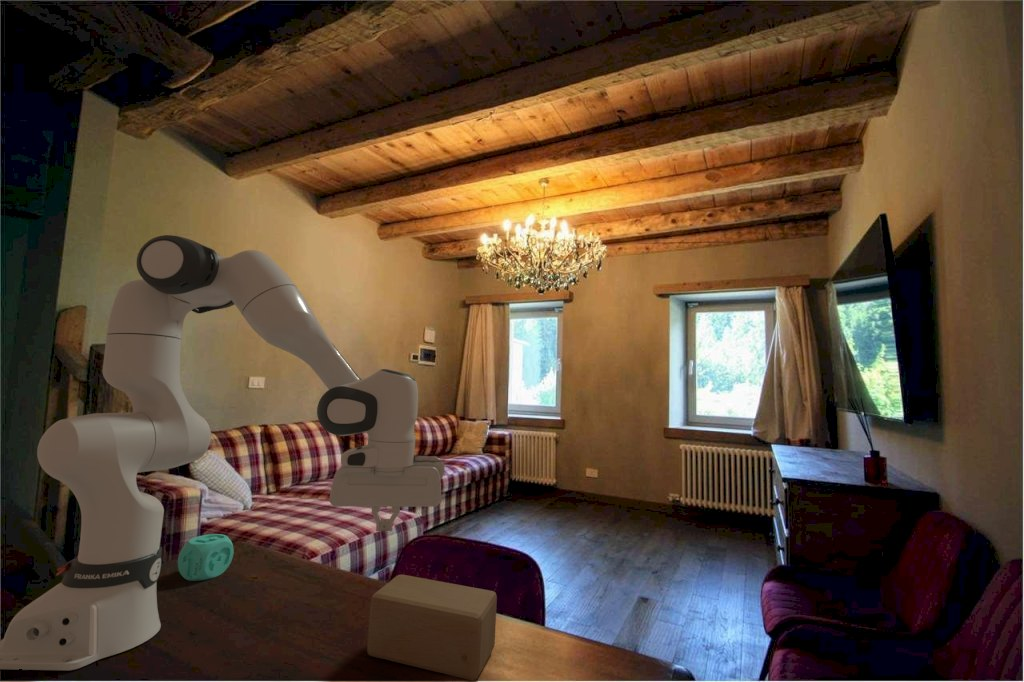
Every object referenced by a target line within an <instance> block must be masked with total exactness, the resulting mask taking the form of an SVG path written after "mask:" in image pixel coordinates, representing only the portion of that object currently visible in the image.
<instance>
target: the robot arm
mask: <svg viewBox="0 0 1024 682" xmlns="http://www.w3.org/2000/svg"><path fill="white" fill-rule="evenodd" d="M137 253H138V254H137V256H136V270H137V272H138V274H139V275H140V277H141V278H142V279H134V280H131V281H128V282H126V283H124V284H123V285H121V286H120V288H119V289H118V291H117V294H116V296H115V298H114V300H113V305H112V307H111V311H110V314H109V319H108V323H107V329H106V339H105V347H104V354H103V355H104V356H103V364H102V376H103V378H104V380H105V381H106V382H107V384H108V385H110V386H111V387H112V388H115V389H116V390H119V391H120V392H122V393H124V394H126V396H127V397H128V398H129V400H130V403H131V406H132V412H103V413H101V412H99V413H98V412H95V413H89V414H84V415H78V416H73V417H67V418H63V419H59V420H58V421H56V422H54V423H53V424H52V425H51V426H50V427H49V428H47V430H46V431H45V432H44V433H43V435H42V436H41V438H40V440H39V442H38V445H37V450H36V451H37V452H36V453H37V454H36V455H37V460H38V463H39V465H40V467H41V469H42V470H43V471H44V472H45V473H46V474H47V475H48V476H50V477H52V478H53V479H55V480H57V481H59V482H60V483H62V484H64V485H65V486H66V487H67V488H68V489H69V490H70V491H71V492H72V493H73V495H74V496H75V499H76V501H77V503H78V506H79V509H80V515H81V517H80V518H81V524H80V539H79V540H80V541H79V546H78V547H79V548H78V555H77V556H76V557H75V558H73V559H71V560H70V561H68V562H66V563H65V564H64V565H63V566H61V567H59V568H57V569H56V571H58V572H57V573H56V575H55V576H60V575H62V574H64V575H63V578H62V580H61V582H59V583H58V584H56V585H55V586H54V587H52V588H50V589H49V590H47V591H46V592H45V593H43V594H42V595H40V596H39V597H37V598H36V599H34V600H32V601H31V602H30V603H29V604H27V605H26V606H24V607H23V608H21V609H20V610H19V611H18V612H17V613H16V614H15V615H14V617H13V618H12V619H11V621H10V622H9V624H8V626H7V629H6V632H5V634H4V637H3V638H2V639H1V640H0V670H19V669H22V670H21V671H30V670H32V671H74V670H78V669H81V668H83V667H86V666H88V665H90V664H92V663H94V662H96V661H99V660H101V659H104V658H107V657H108V658H109V657H111V656H114V655H117V654H120V653H123V652H126V651H129V650H131V649H134V648H135V647H138V646H140V645H142V644H144V643H145V642H147V641H149V640H150V639H152V638H153V637H154V636H155V635H157V633H158V632H159V631H160V630H161V626H162V623H161V620H160V615H159V610H158V599H157V598H158V596H157V595H158V594H157V592H158V591H157V586H158V585H157V582H158V580H159V576H160V573H161V568H162V567H161V566H162V552H163V547H162V546H161V538H162V529H163V522H164V513H165V508H164V505H163V504H162V502H161V501H160V499H158V498H157V497H155V496H154V495H151V494H149V493H146V492H144V491H140V490H139V487H138V484H137V474H138V473H145V472H151V471H152V472H153V471H161V470H167V469H168V470H169V469H174V468H177V467H180V466H184V465H187V464H189V463H192V462H195V461H197V460H199V459H201V458H202V457H204V455H205V454H206V452H207V451H208V449H209V446H210V444H211V442H212V441H211V440H212V431H211V427H210V425H209V423H208V422H207V420H206V418H204V416H201V414H199V413H198V412H196V410H195V409H194V408H193V407H192V406H191V405H190V403H189V401H188V399H187V397H186V395H185V392H184V390H183V386H182V382H181V355H182V353H181V352H182V342H183V327H184V320H185V318H186V316H187V315H188V314H189V313H190V312H191V311H192V312H194V313H195V314H205V313H207V312H211V311H215V310H222V309H227V308H230V307H232V306H236V308H237V310H238V311H239V313H240V314H241V316H242V317H243V318H244V319H245V321H246V322H247V324H248V325H249V326H250V328H252V330H253V331H254V332H255V333H256V334H257V335H258V336H259V337H260V338H262V339H263V340H264V341H265V342H266V343H267V344H269V345H270V346H273V347H276V348H278V349H279V350H283V351H285V352H287V353H289V354H291V355H293V356H295V357H297V359H298V358H299V359H300V360H302V361H303V362H304V363H306V364H307V365H308V366H309V367H310V368H311V369H312V370H313V371H314V373H315V374H316V376H318V378H319V379H320V380H321V382H322V383H323V384H324V385H325V387H326V388H327V389H328V390H326V391H325V392H324V393H323V394H322V396H321V398H320V399H319V401H318V404H317V407H316V417H317V420H318V422H319V424H320V426H321V427H322V428H323V429H324V430H325V431H326V432H327V433H330V434H333V435H336V436H340V437H346V436H348V437H349V436H352V435H357V434H361V433H362V434H365V433H366V434H367V437H368V438H367V444H366V445H362V446H358V447H354V448H351V449H348V450H346V451H344V452H343V453H342V455H341V456H340V464H341V465H340V467H338V469H337V471H336V472H335V473H334V476H333V480H332V484H331V487H330V493H329V503H330V505H331V506H332V507H335V508H337V507H341V508H342V507H345V508H346V507H348V508H351V507H352V508H353V507H356V508H357V507H358V508H359V507H360V508H361V507H363V508H365V507H366V508H367V507H370V508H371V515H372V516H373V519H374V521H375V522H376V525H375V531H376V532H393V525H394V522H395V520H396V519H397V517H398V516H399V514H400V510H401V507H405V508H407V507H409V508H410V507H411V508H414V507H415V508H416V507H420V508H421V507H422V508H423V507H426V508H427V507H430V508H431V507H432V508H433V507H437V506H438V505H440V503H441V501H442V485H441V479H442V478H443V477H444V475H445V467H446V466H445V463H444V461H443V460H442V459H441V458H438V456H435V455H431V456H427V455H425V456H424V455H415V449H416V448H415V447H416V434H415V426H416V422H417V419H418V410H419V388H418V383H417V381H416V379H415V378H414V377H413V376H412V375H410V374H408V373H404V372H401V371H397V370H392V369H387V368H382V369H379V370H377V371H376V372H375V373H373V374H371V375H369V376H366V377H365V378H361V377H360V376H359V375H358V374H357V373H356V372H355V371H354V369H353V368H352V366H351V365H350V364H349V362H347V360H346V359H345V358H344V356H343V355H342V354H341V353H340V352H339V350H338V348H336V346H335V345H334V344H333V342H332V341H331V340H330V338H329V337H328V335H327V334H326V332H325V330H324V329H323V328H324V327H322V324H321V323H320V322H319V320H318V318H317V316H316V315H315V313H314V311H313V310H312V308H311V306H310V305H309V303H308V302H307V300H306V298H305V297H304V295H303V294H302V292H301V291H300V290H299V288H298V287H297V285H296V284H295V283H294V281H293V280H292V279H291V278H290V277H289V275H288V274H287V273H286V272H285V271H284V270H283V269H282V268H281V267H280V265H278V264H277V263H276V261H274V259H272V258H271V257H270V256H269V255H268V254H266V253H264V252H262V251H259V250H254V249H250V250H248V249H247V250H242V251H240V252H238V253H235V254H233V255H232V256H228V257H224V256H222V254H219V253H218V252H216V251H215V249H212V248H210V247H208V246H206V245H204V244H201V243H199V242H196V241H195V240H192V239H190V238H185V237H183V236H179V235H174V234H173V235H172V234H171V235H170V234H168V235H167V234H165V235H164V234H163V235H157V236H155V237H153V238H151V239H149V240H147V242H145V243H144V244H143V245H142V246H141V248H140V249H139V251H138V252H137ZM381 507H382V508H383V507H384V508H386V507H387V508H389V507H392V508H391V512H392V514H391V516H390V518H381V516H380V514H379V513H380V511H381V509H380V508H381ZM19 671H20V670H19Z"/></svg>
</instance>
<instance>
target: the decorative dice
mask: <svg viewBox="0 0 1024 682" xmlns="http://www.w3.org/2000/svg"><path fill="white" fill-rule="evenodd" d="M234 552H235V551H234V544H233V542H232V540H231V539H230V538H229V537H228V536H227V535H226V534H221V533H212V534H211V533H209V534H203V535H199V536H195V537H192V538H191V539H189V540H188V541H187V542H186V543H185V544H184V545H183V547H182V548H181V550H180V551H179V553H178V557H177V568H178V572H179V573H180V576H182V577H183V579H185V580H187V581H191V582H192V581H193V582H198V581H206V580H211V579H214V578H216V577H219V576H221V575H222V574H224V572H225V571H226V570H227V569H228V568H229V567H230V564H231V563H232V560H233V557H234Z"/></svg>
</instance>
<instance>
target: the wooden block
mask: <svg viewBox="0 0 1024 682" xmlns="http://www.w3.org/2000/svg"><path fill="white" fill-rule="evenodd" d="M497 601H498V597H497V593H496V592H495V591H493V590H489V589H483V588H478V587H472V586H466V585H463V584H462V585H461V584H456V583H450V582H445V581H439V580H433V579H429V578H424V577H418V576H412V575H407V574H406V575H405V574H398V575H396V576H394V577H393V578H392V579H390V581H388V582H387V583H386V584H385V585H383V586H382V587H381V588H380V589H378V590H377V591H376V592H375V593H374V594H373V595H372V596H371V599H370V605H369V607H370V608H369V619H368V631H367V633H368V634H367V648H366V652H367V654H368V655H369V656H370V657H374V658H378V659H382V660H386V661H391V662H395V663H398V664H399V663H400V664H403V665H407V666H411V667H415V668H419V669H424V670H427V671H431V672H436V673H441V674H445V675H449V676H452V677H456V678H461V679H465V680H469V681H474V680H475V681H476V680H477V679H478V678H479V676H480V674H481V672H482V670H483V669H484V667H485V666H486V663H487V661H488V659H489V657H490V656H491V653H492V652H493V650H494V648H495V645H496V642H495V640H496V621H497V605H498V603H497Z"/></svg>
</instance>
